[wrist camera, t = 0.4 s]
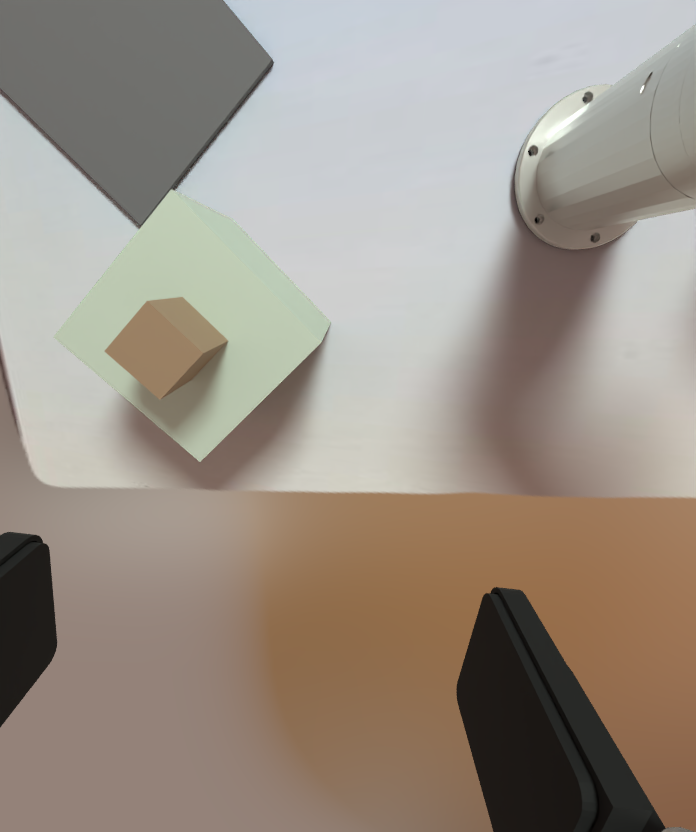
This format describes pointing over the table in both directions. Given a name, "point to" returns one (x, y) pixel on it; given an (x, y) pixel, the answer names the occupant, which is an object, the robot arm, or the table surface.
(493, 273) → the table surface
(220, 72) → the mat
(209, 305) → the pale green block
